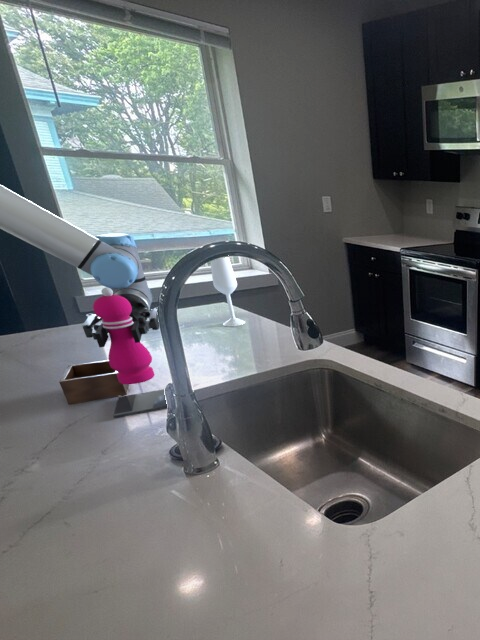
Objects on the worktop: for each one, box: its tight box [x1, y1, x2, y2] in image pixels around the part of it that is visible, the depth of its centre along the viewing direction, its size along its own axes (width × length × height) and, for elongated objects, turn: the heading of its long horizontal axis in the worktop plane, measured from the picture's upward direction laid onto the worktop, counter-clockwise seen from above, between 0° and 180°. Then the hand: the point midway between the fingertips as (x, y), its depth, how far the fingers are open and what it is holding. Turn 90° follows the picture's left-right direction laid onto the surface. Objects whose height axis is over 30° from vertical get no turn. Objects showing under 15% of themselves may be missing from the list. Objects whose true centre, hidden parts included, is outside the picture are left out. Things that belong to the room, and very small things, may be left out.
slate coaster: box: [113, 388, 168, 419], centre depth 104 cm, size 10×10×1 cm
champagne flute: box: [209, 256, 246, 327], centre depth 150 cm, size 7×7×24 cm
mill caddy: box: [58, 359, 130, 405], centre depth 108 cm, size 10×10×6 cm
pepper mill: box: [92, 287, 155, 385], centre depth 97 cm, size 7×7×20 cm
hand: (117, 338), depth 93 cm, fingers closed on pepper mill, 5 cm apart
